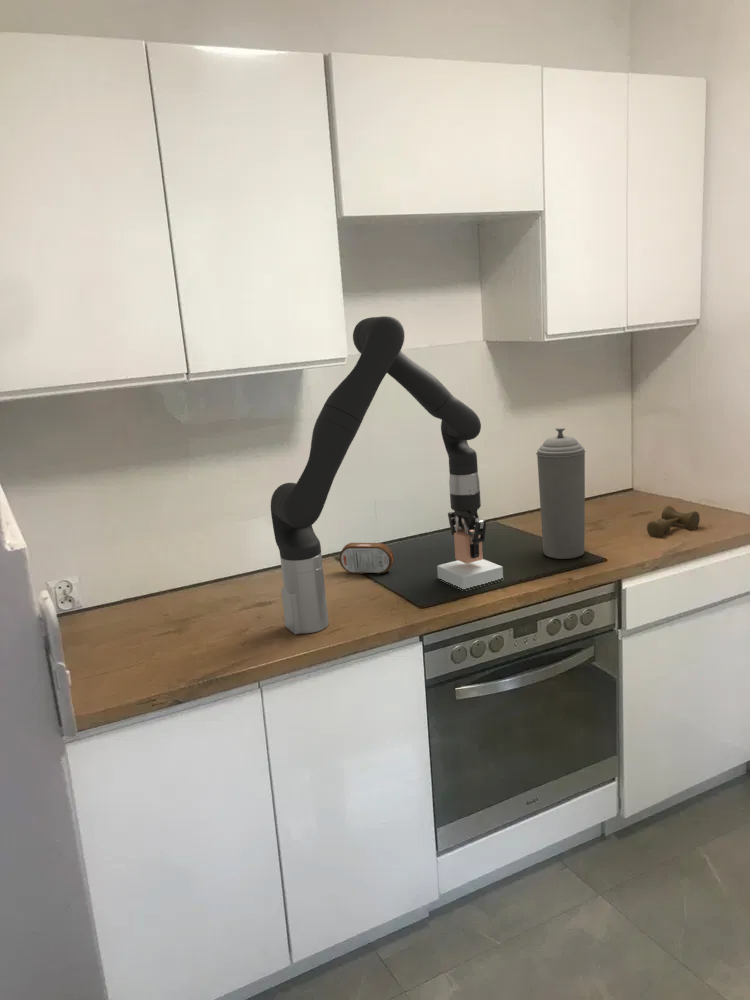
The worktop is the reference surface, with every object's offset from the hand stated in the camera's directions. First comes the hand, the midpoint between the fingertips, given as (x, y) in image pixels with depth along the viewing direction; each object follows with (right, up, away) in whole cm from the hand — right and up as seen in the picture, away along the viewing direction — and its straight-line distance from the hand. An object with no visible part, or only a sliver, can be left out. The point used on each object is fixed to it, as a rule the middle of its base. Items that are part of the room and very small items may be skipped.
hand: (468, 554), depth 200 cm
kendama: (+63, +5, +29) cm, 69 cm away
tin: (-26, -6, +14) cm, 30 cm away
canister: (+28, -1, +15) cm, 32 cm away
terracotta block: (0, -1, 0) cm, 1 cm away
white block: (+1, -7, +2) cm, 7 cm away
